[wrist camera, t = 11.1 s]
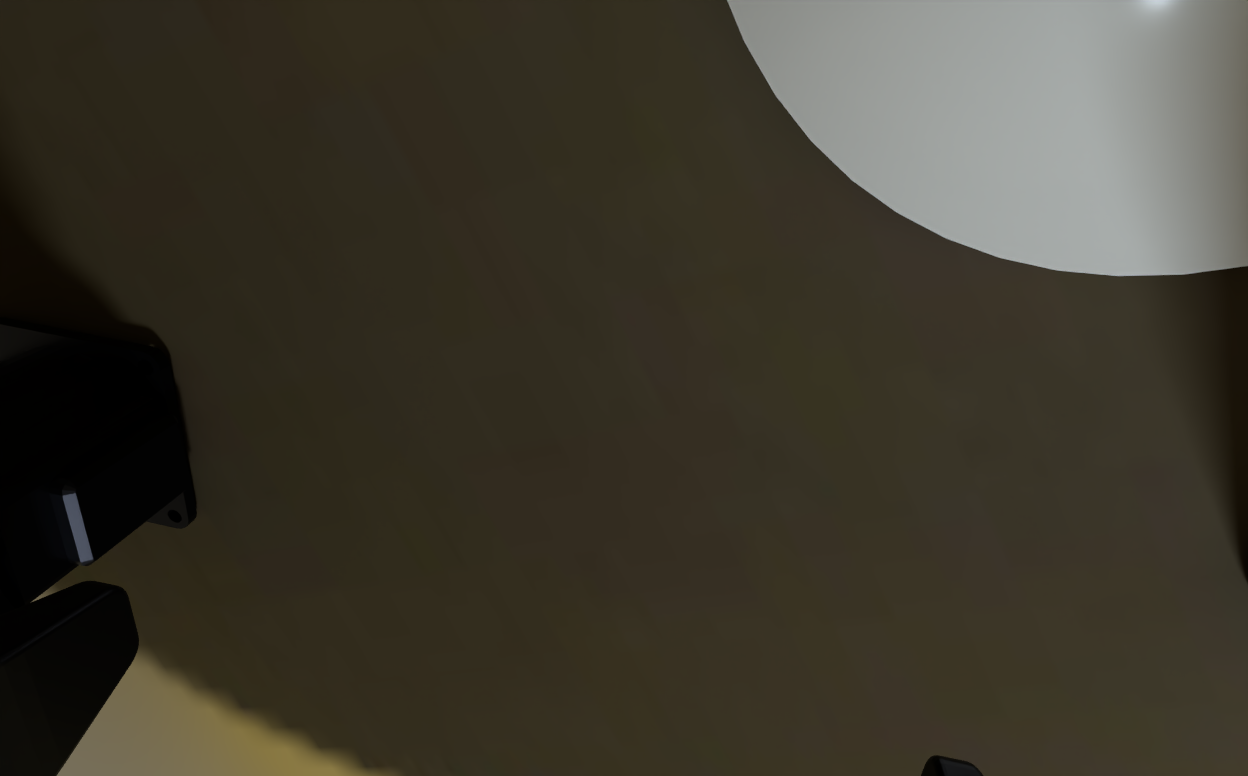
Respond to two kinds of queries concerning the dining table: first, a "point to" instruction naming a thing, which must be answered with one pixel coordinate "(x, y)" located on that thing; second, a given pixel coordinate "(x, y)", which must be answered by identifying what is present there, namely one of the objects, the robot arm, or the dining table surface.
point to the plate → (1030, 120)
